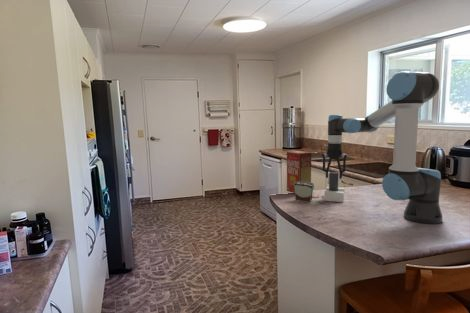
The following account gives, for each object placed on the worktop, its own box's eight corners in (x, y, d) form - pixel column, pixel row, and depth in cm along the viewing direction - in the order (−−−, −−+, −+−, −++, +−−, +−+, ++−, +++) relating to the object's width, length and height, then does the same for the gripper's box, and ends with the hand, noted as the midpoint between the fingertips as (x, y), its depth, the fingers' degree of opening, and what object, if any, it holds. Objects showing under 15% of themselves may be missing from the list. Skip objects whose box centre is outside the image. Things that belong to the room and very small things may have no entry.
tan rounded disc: (318, 198, 182) (318, 197, 182) (306, 197, 185) (306, 196, 185) (320, 195, 189) (320, 194, 189) (308, 194, 191) (308, 193, 191)
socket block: (343, 202, 174) (343, 193, 173) (324, 200, 177) (324, 191, 177) (344, 196, 186) (344, 187, 186) (326, 194, 190) (326, 186, 189)
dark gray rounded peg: (337, 193, 178) (338, 173, 177) (328, 192, 180) (329, 173, 179) (338, 191, 183) (338, 172, 182) (329, 190, 185) (329, 172, 183)
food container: (318, 201, 177) (318, 183, 175) (312, 203, 172) (313, 185, 171) (298, 197, 185) (299, 180, 184) (293, 199, 180) (293, 182, 179)
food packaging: (285, 190, 201) (286, 151, 198) (297, 188, 206) (297, 150, 202) (299, 195, 190) (300, 153, 186) (311, 193, 194) (312, 152, 191)
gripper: (351, 142, 178) (350, 183, 181) (319, 141, 185) (318, 181, 188) (351, 143, 171) (350, 186, 174) (317, 142, 178) (316, 184, 181)
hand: (333, 183), depth 181 cm, fingers closed on dark gray rounded peg, 5 cm apart
